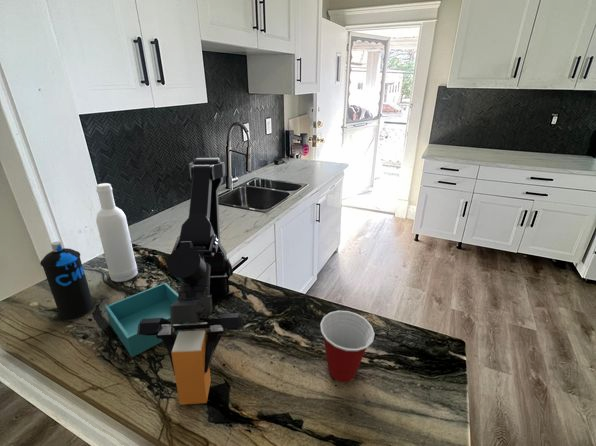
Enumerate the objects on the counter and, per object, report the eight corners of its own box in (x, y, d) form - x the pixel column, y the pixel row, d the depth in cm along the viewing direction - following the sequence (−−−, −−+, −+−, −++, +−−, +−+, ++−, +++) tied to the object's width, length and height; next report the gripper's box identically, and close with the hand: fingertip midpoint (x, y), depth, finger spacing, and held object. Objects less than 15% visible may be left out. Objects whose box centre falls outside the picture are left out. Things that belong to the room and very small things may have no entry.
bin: (168, 298, 90) (165, 282, 87) (194, 324, 80) (192, 307, 78) (109, 324, 80) (104, 306, 77) (131, 357, 70) (127, 338, 68)
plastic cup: (357, 403, 60) (363, 356, 56) (308, 377, 66) (310, 332, 61) (375, 365, 69) (382, 321, 64) (331, 345, 74) (334, 303, 69)
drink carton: (185, 382, 64) (178, 330, 58) (210, 380, 64) (205, 329, 59) (179, 404, 59) (171, 351, 54) (206, 403, 60) (200, 350, 54)
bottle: (105, 282, 97) (80, 188, 85) (118, 268, 104) (97, 180, 92) (131, 282, 97) (110, 188, 85) (142, 269, 104) (124, 181, 92)
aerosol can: (51, 314, 83) (26, 247, 75) (81, 297, 90) (61, 233, 82) (72, 323, 80) (49, 253, 72) (101, 304, 87) (83, 239, 79)
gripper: (130, 283, 55) (117, 382, 49) (238, 277, 57) (238, 372, 51) (152, 293, 65) (143, 376, 59) (242, 288, 67) (243, 368, 62)
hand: (190, 373), depth 58 cm, fingers closed on drink carton, 5 cm apart
